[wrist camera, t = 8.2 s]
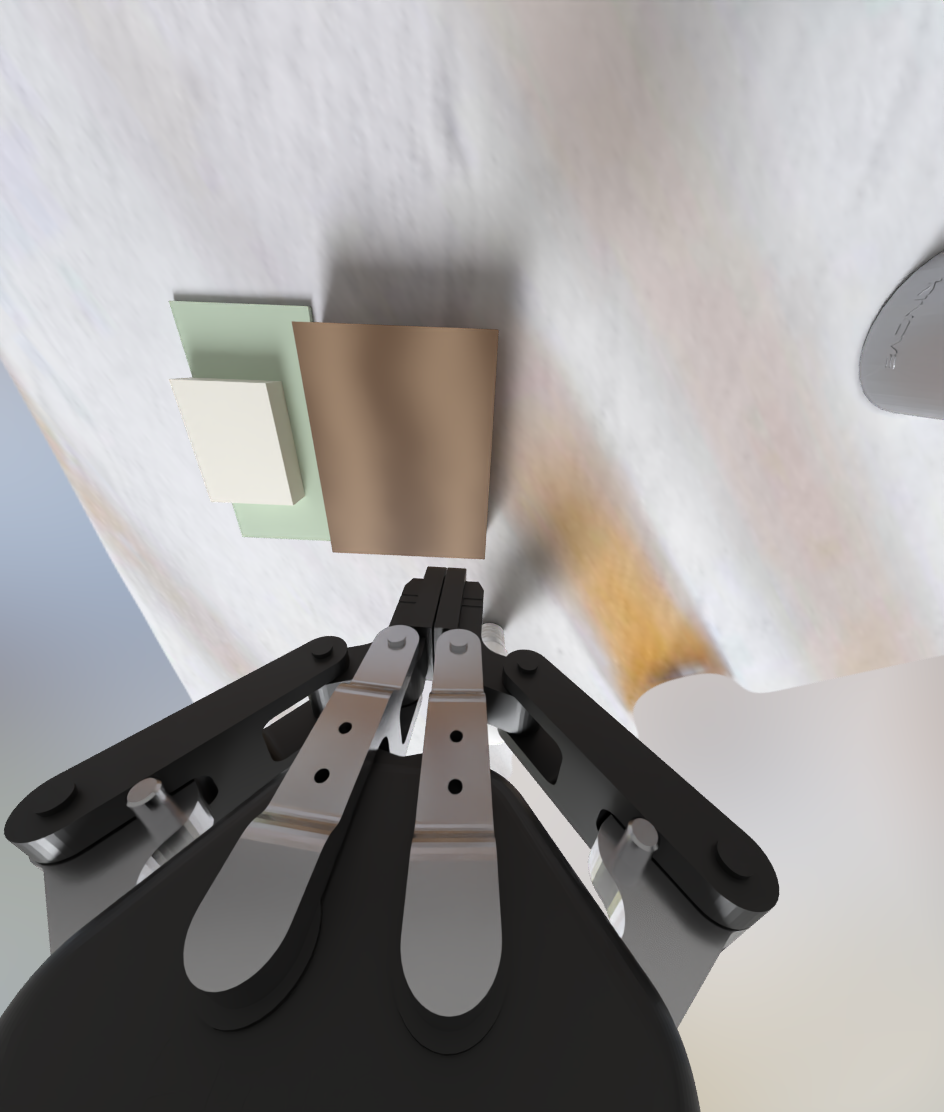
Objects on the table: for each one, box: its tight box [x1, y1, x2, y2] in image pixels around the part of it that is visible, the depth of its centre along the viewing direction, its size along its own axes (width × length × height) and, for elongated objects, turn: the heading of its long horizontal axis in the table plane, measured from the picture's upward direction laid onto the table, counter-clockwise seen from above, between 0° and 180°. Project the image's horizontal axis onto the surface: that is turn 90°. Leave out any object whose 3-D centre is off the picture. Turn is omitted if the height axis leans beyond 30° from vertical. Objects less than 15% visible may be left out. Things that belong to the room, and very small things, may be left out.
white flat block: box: [169, 378, 305, 506], centre depth 25 cm, size 6×8×2 cm
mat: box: [169, 301, 331, 541], centre depth 26 cm, size 8×16×1 cm, turn 178°
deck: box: [292, 321, 499, 559], centre depth 24 cm, size 11×14×4 cm
